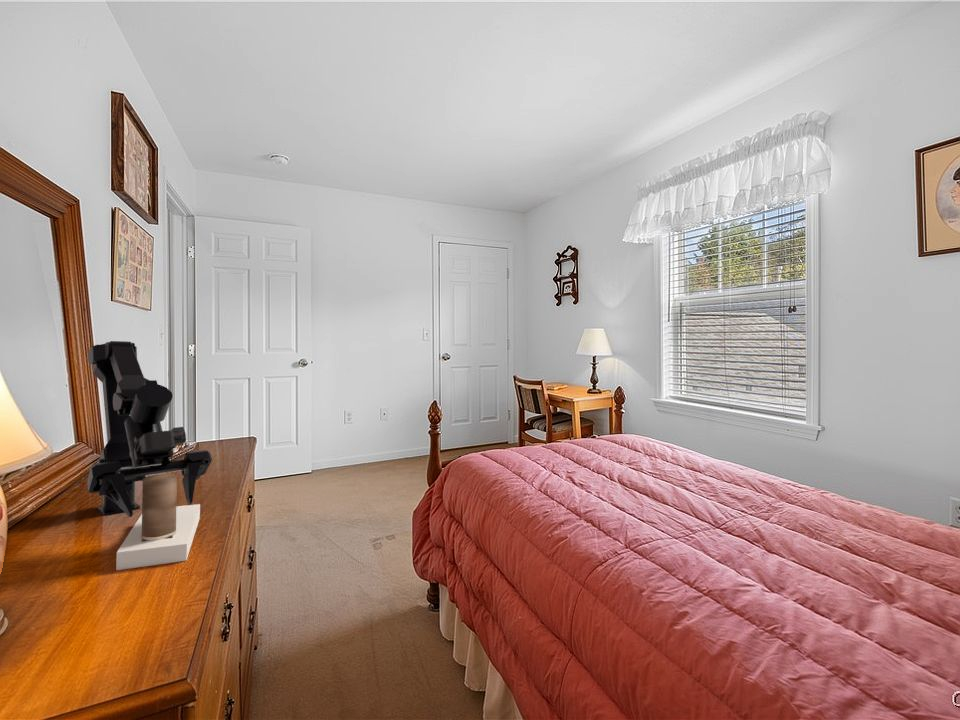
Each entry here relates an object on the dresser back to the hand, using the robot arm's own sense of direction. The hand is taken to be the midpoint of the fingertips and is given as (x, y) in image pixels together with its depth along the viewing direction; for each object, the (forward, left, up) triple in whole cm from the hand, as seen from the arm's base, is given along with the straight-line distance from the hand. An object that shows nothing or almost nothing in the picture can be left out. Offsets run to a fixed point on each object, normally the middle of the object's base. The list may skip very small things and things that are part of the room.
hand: (162, 509), depth 85 cm
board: (-6, +2, -8) cm, 10 cm away
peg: (-2, 0, -8) cm, 8 cm away
